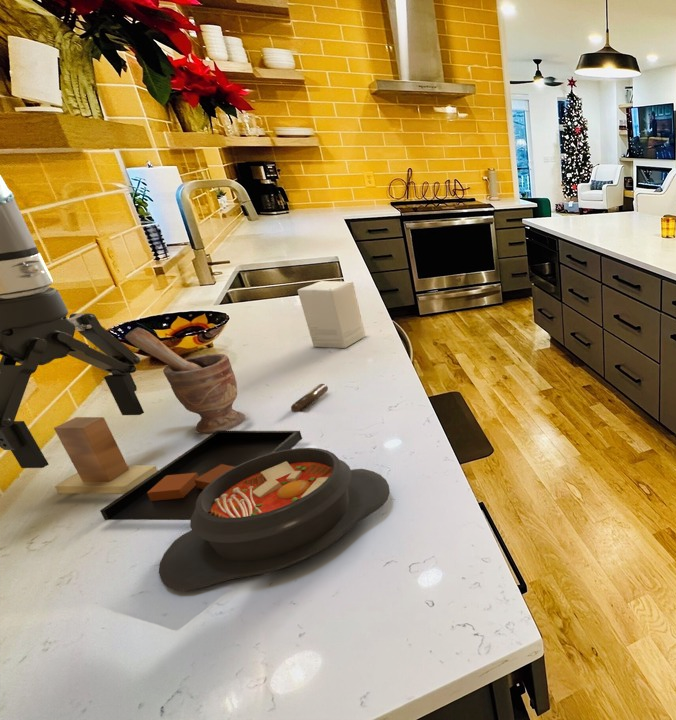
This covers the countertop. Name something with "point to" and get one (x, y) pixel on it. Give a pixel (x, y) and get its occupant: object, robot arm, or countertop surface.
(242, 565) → the casserole
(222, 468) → the plate
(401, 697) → the countertop surface
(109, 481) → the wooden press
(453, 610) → the countertop surface
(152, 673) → the countertop surface
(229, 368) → the mortar and pestle
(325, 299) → the rectangular carton
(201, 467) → the griddle pan
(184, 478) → the plate
